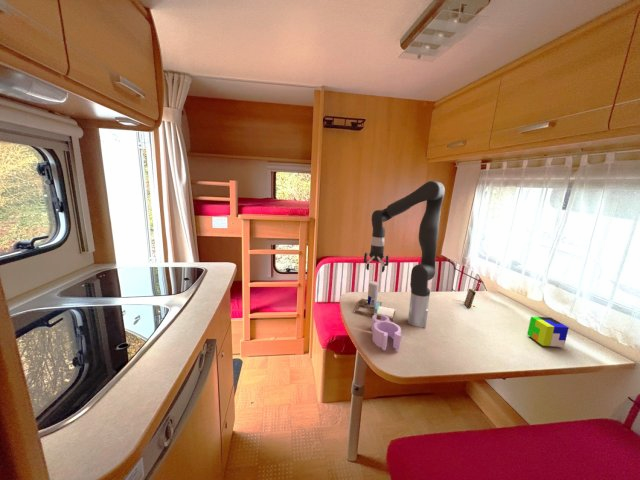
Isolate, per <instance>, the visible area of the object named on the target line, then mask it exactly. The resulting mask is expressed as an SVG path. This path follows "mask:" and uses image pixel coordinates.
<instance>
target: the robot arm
mask: <svg viewBox="0 0 640 480" xmlns="http://www.w3.org/2000/svg"><path fill="white" fill-rule="evenodd" d="M445 189H446V188H445V186H444V184H443V183H442V182H439V181H436V180H430V181H427V182H425V183H423V184H422V185H420V187H418V188H417V189H415V190H414V191H412V192H411V193H409V194H407V195H406V196H404V197H401V198H400V199H398V200H396V201H394V202H392V203H390V204H388V205H387V207H385V208H383V209H379V210H378V209H377V210H374V211H373V212H372V215H371V226H372V234H371V236H372V237H371V240H370V241H371V242H370V252H369V253H368V252H364V256H363V263H364V264H366V266H365V268H366V270H367V271H369V270H370V263H371V262H372V261H373V262H377V263H378V262H379V263H380V264H381V273H384V272H385V271H386V270H385V269H386V267H387V266H389V263H390V262H389V258H390V255H389V254H387V255H386V254H384V250H385V238H386V228H385V227H384V226H383V225H384V224H383V223H385V222H387V221H389V220H391V219H392V218H395V217H397V216H399V215H400V214H402V213H404V212H406V211H408V210H409V209H411V208H412V207H414V206H415V205H417V204H420V203H423V202H426V204H425V205H426V206H425V212H424V214H423V215H422V219H421V221H420V224H419V229H418V242H419V246H420V250H421V260H420V264H416V265H414V266H413V267H412V269H411V272H410V283H409V284H410V291H411V292H410V298H409V306H408V307H409V308H408V315H407V323H408V324H409V325H411V326H412V327H417V328H426V326H427V321H428V320H427V319H428V314H429V313H428V312H429V310H428V309H429V302H430V296H431V295H430V294H431V290H430V288H428V281H430V280H432V279H434V277H435V275H436V257H437V255H436V254H437V248H438V239H439V232H440V222H441V211H442V205H443V202H444V196H445V192H446V190H445ZM368 257H370V258H369V259H368ZM384 259H385V262H384Z"/></svg>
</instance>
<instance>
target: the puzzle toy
mask: <svg viewBox="0 0 640 480" xmlns="http://www.w3.org/2000/svg"><path fill="white" fill-rule="evenodd" d="M528 325H529V326H528V329H527V333H526V334H527V336H529V337H530V338H532V339H533V340H534V341H536V342H537V343H538V344H539V345H541V346H544V347H559V348H564V347H565V345H566V340H567V335H568V333H569V326H567V325H565V324H563V323H561V322H560V321H558V320H556V319H554V318H553V317H549V316H548V317H545V316H530V320H529V324H528Z"/></svg>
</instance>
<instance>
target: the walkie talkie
mask: <svg viewBox="0 0 640 480" xmlns="http://www.w3.org/2000/svg"><path fill="white" fill-rule="evenodd" d="M480 284H481V283H480V282H479V283H478V285H477V286H476V287H475V289H474V288H468V291H467V294H466V296H465V300H464V301H463V300H461V299H457V301H459V302H462V303H463V305H464V306H465V307H466V308H467V309H471V308H472V307H475V308H477V305H474V304H473V302H474V299H475V296H476V290H477V288H479V285H480ZM452 301H455V299H454V298H452Z"/></svg>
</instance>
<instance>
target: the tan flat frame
mask: <svg viewBox="0 0 640 480" xmlns="http://www.w3.org/2000/svg"><path fill="white" fill-rule="evenodd" d="M367 301H368V298H361V299H360V301H359V302H358V304H357V306H356V307H355V309H354V312H353V313H354V314H358V315H363V316H368V317H373V315H375V314H374V310H375V307H372V306H368V305H366V304H367V303H368V302H367ZM377 302H380V306H381V307H382V301H378V300H377ZM360 308H364V309H368V310H371V312H368V311H363V310H359V309H360ZM395 315H396V310H394V314H393V318H389V319H390V321H391V322H394V319H395ZM377 319H381V316H380V315H377Z"/></svg>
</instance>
